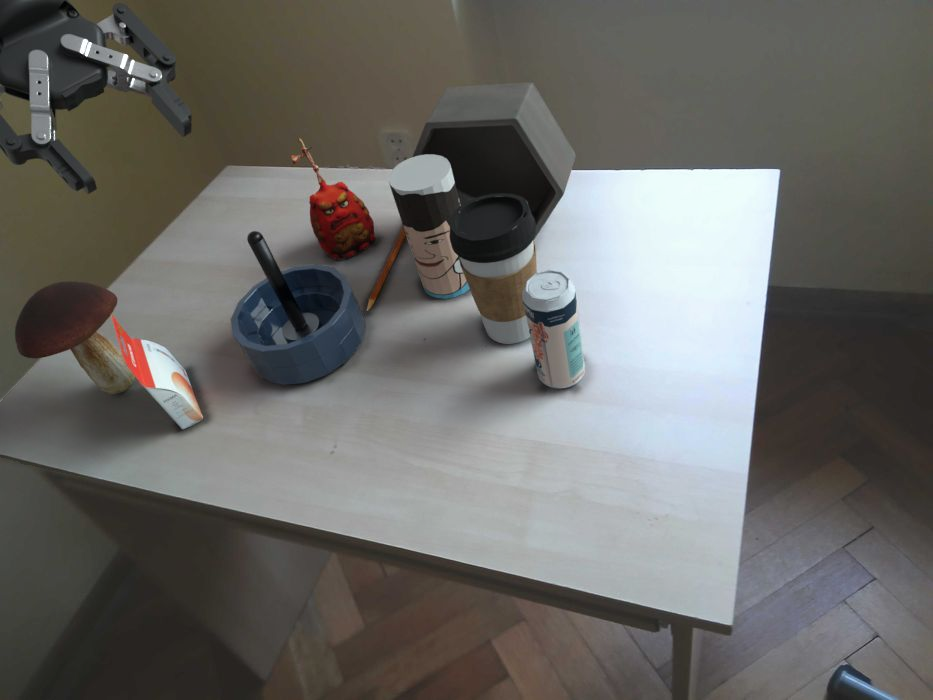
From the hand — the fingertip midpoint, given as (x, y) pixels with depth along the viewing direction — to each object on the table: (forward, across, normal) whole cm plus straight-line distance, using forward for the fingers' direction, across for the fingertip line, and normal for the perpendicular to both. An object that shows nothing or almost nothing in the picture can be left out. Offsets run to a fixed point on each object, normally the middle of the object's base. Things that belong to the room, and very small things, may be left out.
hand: (141, 157), depth 54 cm
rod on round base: (+17, +8, +26) cm, 32 cm away
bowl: (+17, +8, +26) cm, 32 cm away
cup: (+22, +24, +21) cm, 39 cm away
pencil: (+16, +22, +28) cm, 39 cm away
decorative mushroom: (+7, -10, +36) cm, 38 cm away
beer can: (+37, +19, +7) cm, 42 cm away
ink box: (+13, -7, +30) cm, 34 cm away
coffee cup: (+31, +22, +13) cm, 40 cm away
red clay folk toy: (+10, +22, +33) cm, 41 cm away
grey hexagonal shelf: (+22, +34, +22) cm, 46 cm away
